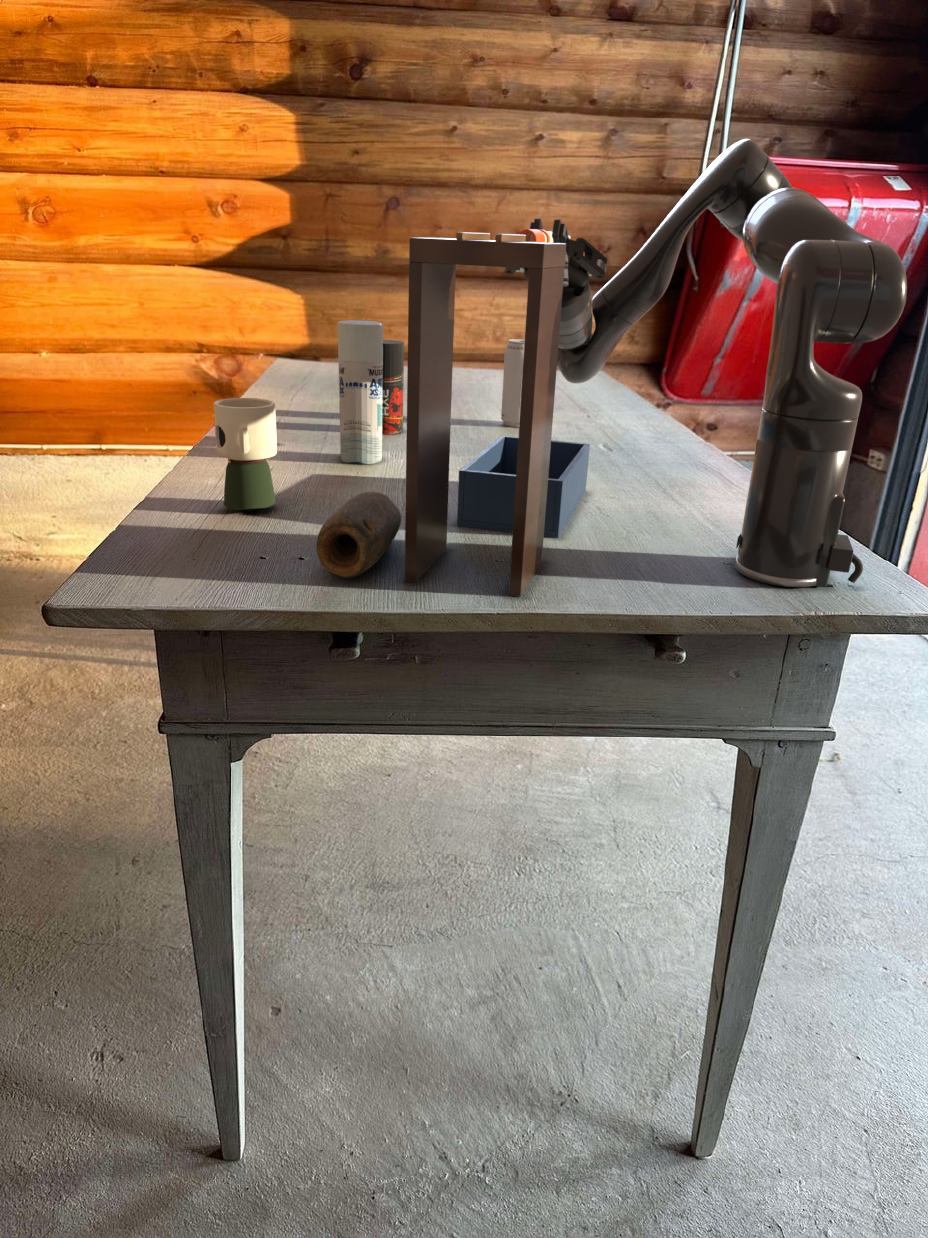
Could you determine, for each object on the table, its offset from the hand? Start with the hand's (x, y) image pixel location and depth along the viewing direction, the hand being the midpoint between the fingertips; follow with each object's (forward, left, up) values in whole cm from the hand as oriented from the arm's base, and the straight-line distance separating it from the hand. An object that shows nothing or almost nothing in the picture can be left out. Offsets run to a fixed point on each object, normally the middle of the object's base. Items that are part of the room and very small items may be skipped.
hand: (546, 225), depth 106 cm
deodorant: (+33, -37, -34) cm, 60 cm away
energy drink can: (+13, -53, -34) cm, 64 cm away
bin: (0, +1, -34) cm, 34 cm away
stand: (0, +27, -34) cm, 43 cm away
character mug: (+32, +15, -34) cm, 49 cm away
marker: (0, +2, -1) cm, 2 cm away
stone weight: (+12, +28, -34) cm, 46 cm away
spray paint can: (+29, -15, -34) cm, 47 cm away
